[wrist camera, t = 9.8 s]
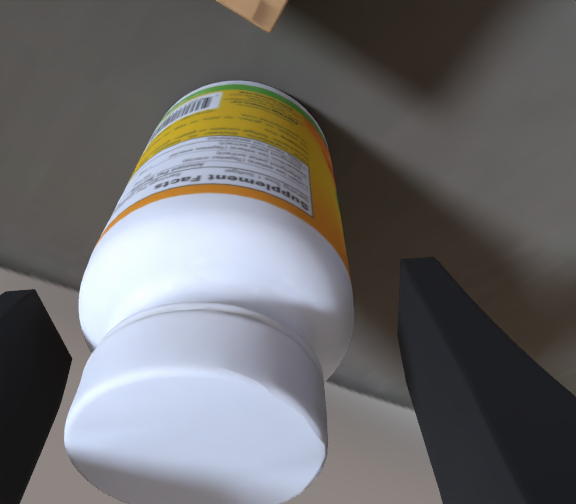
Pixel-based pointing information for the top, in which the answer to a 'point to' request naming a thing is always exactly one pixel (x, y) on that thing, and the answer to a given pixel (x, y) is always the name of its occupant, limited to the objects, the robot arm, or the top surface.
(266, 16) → the wooden box
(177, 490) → the supplement bottle
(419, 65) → the top surface
